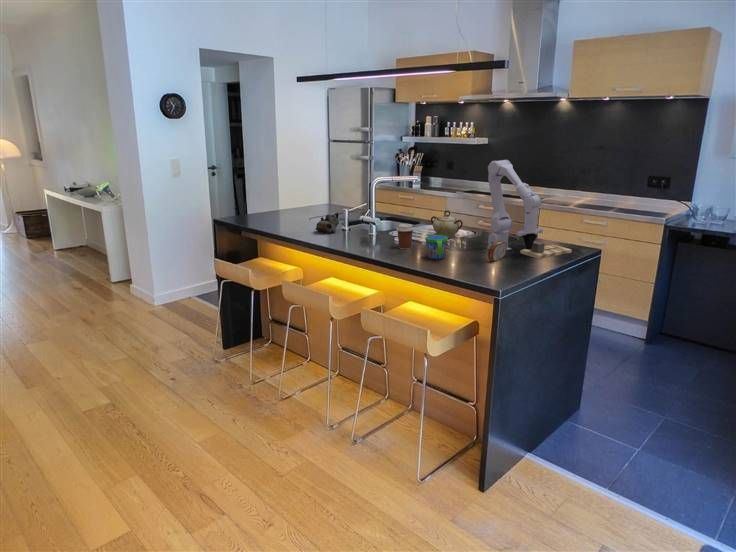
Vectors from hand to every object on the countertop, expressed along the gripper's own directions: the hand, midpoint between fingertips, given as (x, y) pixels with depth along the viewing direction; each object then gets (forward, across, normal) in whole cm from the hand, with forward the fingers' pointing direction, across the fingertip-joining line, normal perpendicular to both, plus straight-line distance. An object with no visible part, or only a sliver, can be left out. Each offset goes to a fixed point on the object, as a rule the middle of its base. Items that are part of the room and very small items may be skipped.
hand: (528, 249), depth 243 cm
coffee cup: (+4, -42, +44) cm, 61 cm away
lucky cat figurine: (+4, -62, +101) cm, 119 cm away
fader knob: (+2, +6, 0) cm, 6 cm away
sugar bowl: (+4, -10, +54) cm, 55 cm away
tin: (+4, -16, +3) cm, 17 cm away
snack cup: (+4, -40, +20) cm, 44 cm away
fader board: (+3, +12, 0) cm, 12 cm away
